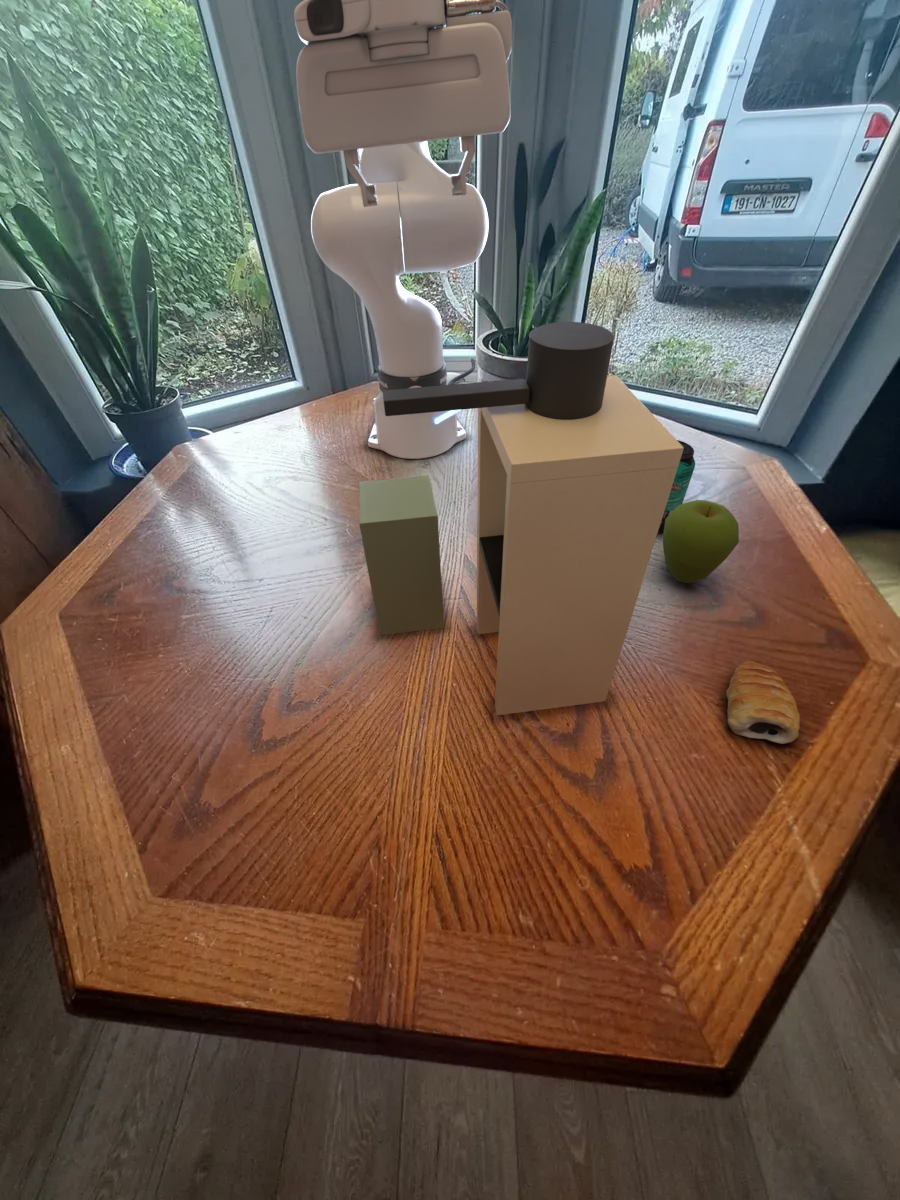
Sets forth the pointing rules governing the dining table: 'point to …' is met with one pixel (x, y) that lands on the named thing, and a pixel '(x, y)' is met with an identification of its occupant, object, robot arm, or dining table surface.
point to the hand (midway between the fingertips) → (415, 201)
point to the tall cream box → (566, 542)
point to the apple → (698, 539)
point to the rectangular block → (402, 553)
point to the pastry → (761, 705)
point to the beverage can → (680, 482)
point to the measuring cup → (530, 378)
